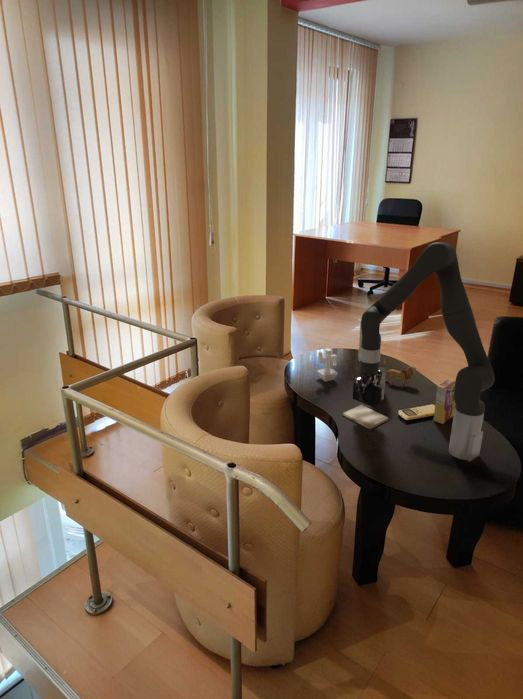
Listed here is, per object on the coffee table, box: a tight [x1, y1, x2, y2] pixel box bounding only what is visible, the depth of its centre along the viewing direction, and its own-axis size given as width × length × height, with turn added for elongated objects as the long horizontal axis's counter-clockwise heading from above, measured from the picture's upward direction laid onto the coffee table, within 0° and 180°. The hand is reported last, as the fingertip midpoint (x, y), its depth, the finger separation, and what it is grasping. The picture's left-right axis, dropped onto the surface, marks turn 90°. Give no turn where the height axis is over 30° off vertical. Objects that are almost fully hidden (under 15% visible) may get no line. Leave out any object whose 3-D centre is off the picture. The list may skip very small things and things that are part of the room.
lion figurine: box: [385, 365, 417, 388], centre depth 226 cm, size 15×5×9 cm, turn 79°
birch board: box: [342, 404, 389, 430], centre depth 199 cm, size 14×11×1 cm
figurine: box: [316, 347, 339, 383], centre depth 230 cm, size 7×9×15 cm
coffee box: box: [377, 356, 388, 401], centre depth 215 cm, size 9×6×16 cm
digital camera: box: [352, 382, 382, 409], centre depth 195 cm, size 10×5×7 cm, turn 44°
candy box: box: [433, 378, 456, 425], centre depth 195 cm, size 9×4×15 cm, turn 133°
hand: (367, 398), depth 196 cm, fingers closed on digital camera, 5 cm apart
